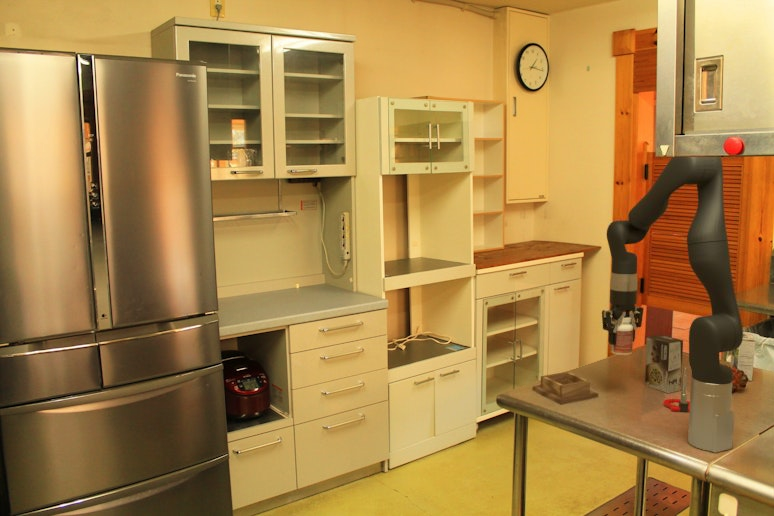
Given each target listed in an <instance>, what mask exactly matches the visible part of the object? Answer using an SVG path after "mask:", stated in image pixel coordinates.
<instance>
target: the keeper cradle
mask: <svg viewBox="0 0 774 516" xmlns="http://www.w3.org/2000/svg"><path fill="white" fill-rule="evenodd" d="M532 391H534V392H535V393H537V394H540V395H541V396H543V397H545V398H548V399H549V400H551V401H553V402H554V403H557V404H559V405H561V406H562V405H566V404H571V403H577V402H582V401H586V400H591V399H596V398H597V397H598V398H599V393H598V392H596V391H594V390H591V380H588V379H586V378H584V377H582V376H579V375H577V374H574V373H572V372H569V371H564V372H556V373H552V374H547V375H541V376H540V384H538V385H534V386H532Z"/></svg>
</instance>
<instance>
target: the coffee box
mask: <svg viewBox="0 0 774 516" xmlns="http://www.w3.org/2000/svg"><path fill="white" fill-rule="evenodd" d="M683 350H684V340H683V339H680V338H675V337H671V336H667V335H664V334H655V335H652V336H646V347H645V351H646V352H645V377H644V378H645V379H644V380H645V381H644V385H645V386H646V387H649V388H652V389H654V390H658V391H660V392H663V393H666V394H671V393H675V392H681V391H682V376H683V374H682V373H683V354H684V352H683Z"/></svg>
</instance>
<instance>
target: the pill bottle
mask: <svg viewBox="0 0 774 516" xmlns="http://www.w3.org/2000/svg"><path fill="white" fill-rule="evenodd" d="M630 321H631V318H630V317H627V318H623V320H622V322H621V325H620V326H619V327H618V329H617V331H616V333H617V338H616V345H612V344H610V353H611V354H613V355H618V356H630V355H632V354H633V345H634V344H633V343H634V342H633V326H632V325H631V324H630ZM614 322H617V320H615V319H614ZM613 327H614V326H613Z"/></svg>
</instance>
